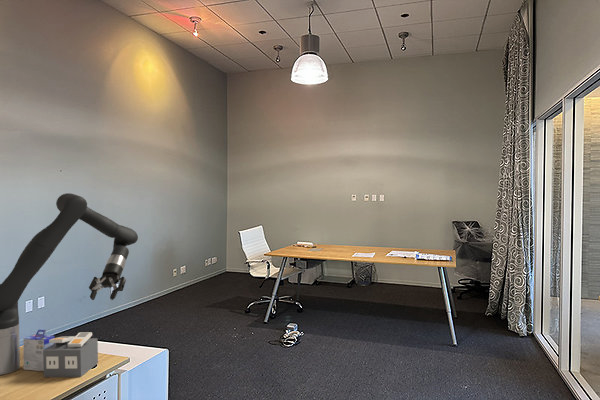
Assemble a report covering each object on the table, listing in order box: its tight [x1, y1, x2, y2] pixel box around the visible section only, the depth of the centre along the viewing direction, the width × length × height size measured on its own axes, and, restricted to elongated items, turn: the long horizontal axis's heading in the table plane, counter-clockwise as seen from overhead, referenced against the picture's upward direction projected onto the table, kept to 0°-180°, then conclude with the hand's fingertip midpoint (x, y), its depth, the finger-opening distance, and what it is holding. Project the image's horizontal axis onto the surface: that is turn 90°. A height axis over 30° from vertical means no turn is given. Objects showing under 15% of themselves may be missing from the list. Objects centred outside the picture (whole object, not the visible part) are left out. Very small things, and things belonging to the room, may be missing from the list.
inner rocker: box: [49, 335, 76, 344], centre depth 153 cm, size 5×8×1 cm, turn 179°
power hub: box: [43, 337, 99, 378], centre depth 153 cm, size 14×12×11 cm
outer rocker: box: [68, 331, 93, 347], centre depth 153 cm, size 5×8×1 cm, turn 179°
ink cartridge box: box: [22, 329, 55, 372], centre depth 155 cm, size 10×6×14 cm, turn 78°
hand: (101, 299), depth 169 cm, fingers open, 8 cm apart
